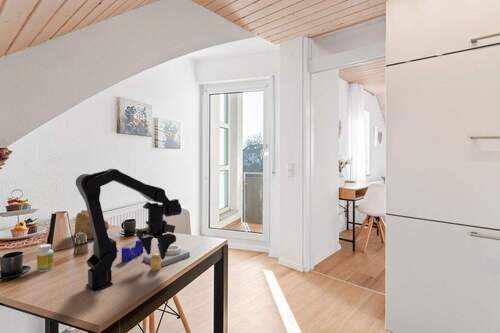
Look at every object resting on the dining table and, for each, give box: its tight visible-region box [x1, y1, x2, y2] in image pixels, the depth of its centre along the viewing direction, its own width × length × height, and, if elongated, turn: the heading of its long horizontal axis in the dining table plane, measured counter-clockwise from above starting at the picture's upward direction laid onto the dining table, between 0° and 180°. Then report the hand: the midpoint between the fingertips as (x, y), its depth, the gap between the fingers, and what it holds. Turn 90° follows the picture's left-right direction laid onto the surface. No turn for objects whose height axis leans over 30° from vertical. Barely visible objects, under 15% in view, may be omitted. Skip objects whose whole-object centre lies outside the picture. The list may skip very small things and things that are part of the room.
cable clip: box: [121, 239, 144, 263], centre depth 127 cm, size 12×4×6 cm, turn 169°
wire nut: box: [150, 253, 162, 272], centre depth 114 cm, size 4×4×6 cm
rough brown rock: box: [73, 209, 110, 240], centre depth 156 cm, size 23×17×15 cm
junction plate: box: [142, 244, 191, 268], centre depth 126 cm, size 16×12×4 cm
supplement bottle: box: [36, 243, 55, 273], centre depth 112 cm, size 5×5×10 cm
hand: (155, 256), depth 114 cm, fingers open, 9 cm apart
